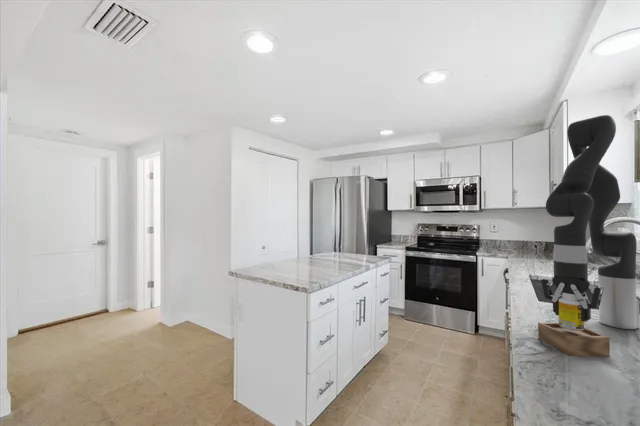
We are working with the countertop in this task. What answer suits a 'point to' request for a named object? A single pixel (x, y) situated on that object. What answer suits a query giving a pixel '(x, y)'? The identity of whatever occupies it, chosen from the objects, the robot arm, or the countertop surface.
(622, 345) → the countertop surface
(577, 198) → the robot arm
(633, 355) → the countertop surface
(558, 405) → the countertop surface
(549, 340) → the walnut tray
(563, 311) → the supplement bottle
